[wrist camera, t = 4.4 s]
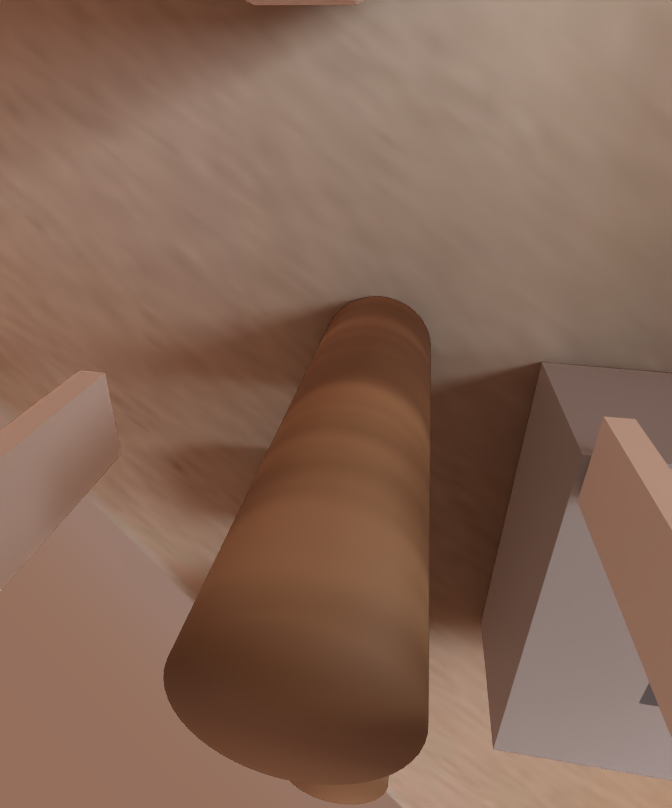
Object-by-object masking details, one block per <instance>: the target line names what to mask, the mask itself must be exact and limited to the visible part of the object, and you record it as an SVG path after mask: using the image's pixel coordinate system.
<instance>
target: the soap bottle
mask: <svg viewBox="0 0 672 808" xmlns="http://www.w3.org/2000/svg"><path fill="white" fill-rule="evenodd" d="M246 1H248V2H249V3H251V4H253V5H357V4H359V3H361V2H363V1H365V0H246Z"/></svg>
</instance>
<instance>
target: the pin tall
mask: <svg viewBox="0 0 672 808" xmlns="http://www.w3.org/2000/svg"><path fill="white" fill-rule="evenodd" d="M430 390H431V343H430V337H429V333H428V330H427V328H426V326H425V324H424V322H423V320H422V319H421V318H420V316H419V315H418V314H417V313H416V312H415V311H414V310H413V309H411V308H410V307H409V306H407V305H406V304H404V303H402V302H400V301H397V300H395V299H392V298H388V297H381V296H372V297H365V298H361V299H358V300H355V301H353V302H351V303H349V304H347V305H346V306H344V307H343V308H342V309H341V310H340V311H339V312H338V313H337V314H336V315H335V316H334V317H333V319H332V320H331V322H330V324H329V326H328V328H327V330H326V332H325V334H324V336H323V338H322V340H321V342H320V344H319V347H318V349H317V351H316V353H315V355H314V357H313V359H312V361H311V363H310V365H309V367H308V369H307V371H306V373H305V375H304V377H303V380H302V382H301V384H300V386H299V388H298V390H297V392H296V394H295V396H294V398H293V400H292V402H291V404H290V406H289V408H288V411H287V413H286V415H285V417H284V419H283V421H282V423H281V425H280V427H279V429H278V431H277V433H276V435H275V437H274V439H273V441H272V444H271V446H270V448H269V450H268V452H267V454H266V456H265V458H264V460H263V462H262V464H261V466H260V468H259V470H258V472H257V474H256V477H255V479H254V481H253V483H252V485H251V487H250V489H249V491H248V493H247V495H246V497H245V499H244V501H243V503H242V505H241V507H240V510H239V512H238V514H237V516H236V518H235V520H234V522H233V524H232V526H231V528H230V530H229V532H228V534H227V536H226V538H225V541H224V543H223V545H222V547H221V549H220V551H219V553H218V555H217V557H216V559H215V561H214V563H213V565H212V567H211V569H210V571H209V574H208V576H207V578H206V580H205V582H204V584H203V586H202V588H201V590H200V592H199V594H198V596H197V598H196V600H195V602H194V604H193V607H192V609H191V611H190V613H189V615H188V617H187V619H186V621H185V623H184V625H183V627H182V629H181V631H180V633H179V636H178V638H177V640H176V642H175V644H174V646H173V648H172V650H171V652H170V654H169V656H168V658H167V662H166V664H165V668H164V687H165V691H166V694H167V697H168V700H169V702H170V704H171V706H172V708H173V710H174V711H175V712H176V714H177V716H178V717H179V718H180V720H181V721H182V722H183V723H184V724H185V725H186V727H187V728H188V729H189V730H190V731H191V732H192V733H193V734H195V735H196V736H197V737H198V738H199V739H200V740H202V741H203V742H204V743H206V744H207V745H208V746H209V747H211V748H212V749H214V750H215V751H217V752H219V753H220V754H222V755H223V756H225V757H227V758H229V759H231V760H233V761H235V762H237V763H239V764H241V765H243V766H245V767H248V768H250V769H253V770H255V771H258V772H261V773H264V774H267V775H270V776H274V777H277V778H281V779H285V780H290V781H294V782H301V783H307V784H317V785H350V784H358V783H365V782H370V781H373V780H377V779H381V778H383V777H386V776H388V775H391V774H393V773H395V772H397V771H399V770H400V769H402V768H404V767H405V766H406V765H408V764H409V763H410V762H411V761H413V759H414V758H415V757H416V756H417V755H418V754H419V753H420V751H421V749H422V747H423V746H424V744H425V741H426V737H427V734H428V700H429V545H430Z"/></svg>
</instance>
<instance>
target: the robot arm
mask: <svg viewBox="0 0 672 808" xmlns="http://www.w3.org/2000/svg"><path fill="white" fill-rule="evenodd" d="M121 454H122V453H121V448H120V443H119V438H118V433H117V428H116V424H115V419H114V414H113V409H112V404H111V399H110V394H109V390H108V385H107V380H106V375H105V372H94V371H83V370H79V371H78V372H77V373H75V374H74V375H73V376H71V377H70V378H69V379H67V380H66V381H65V382H63V383H62V384H61V385H59V386H58V387H57V388H55V389H54V390H53V391H51V392H50V393H49V394H47V395H46V396H45V397H43V398H42V399H41V400H39V401H38V402H37V403H35V404H34V405H33V406H31V407H30V408H29V409H28V410H26V411H25V412H24V413H22V414H21V415H20V416H18V417H17V418H16V419H14V420H13V421H12V422H10V423H9V424H8V425H7V426H5V427H4V428H2V429H1V430H0V591H1V590H2V589H3V588H4V587H5V586H6V585H7V583H8V582H9V581H10V580H11V579H12V578H13V577H14V575H15V574H16V573H17V572H18V571H19V570H20V569H21V568H22V566H23V565H24V564H25V563H26V562H27V561H28V560H29V558H30V557H31V556H32V555H33V554H34V553H35V551H36V550H37V549H38V548H39V547H40V546H41V545H42V543H43V542H44V541H45V540H46V539H47V538H48V537H49V536H50V535H51V533H52V532H53V531H54V530H55V529H56V528H57V527H58V525H59V524H60V523H61V522H62V521H63V520H64V519H65V517H66V516H67V515H68V514H69V513H70V512H71V510H72V509H73V508H74V507H75V506H76V505H77V504H78V503H79V501H80V500H81V499H82V498H83V497H84V496H85V495H86V494H87V492H88V491H89V490H90V489H91V488H92V487H93V486H94V484H95V483H96V482H97V481H98V480H99V479H100V478H101V476H102V475H103V474H104V473H105V472H106V471H107V470H108V468H109V467H110V466H111V465H112V464H113V463H114V462H115V461H116V459H117V458H118V457H119V456H120V455H121ZM577 502H578V505H579V507H580V510H581V512H582V515H583V517H584V520H585V522H586V525H587V527H588V530H589V532H590V535H591V537H592V540H593V542H594V545H595V547H596V550H597V552H598V555H599V557H600V560H601V562H602V565H603V567H604V570H605V572H606V575H607V577H608V580H609V582H610V585H611V587H612V590H613V592H614V595H615V598H616V600H617V603H618V605H619V608H620V610H621V613H622V615H623V618H624V620H625V623H626V625H627V628H628V630H629V633H630V635H631V638H632V640H633V643H634V645H635V648H636V650H637V653H638V655H639V658H640V660H641V663H642V665H643V668H644V670H645V673H646V675H647V678H648V680H649V683H650V685H651V688H652V690H653V693H654V695H655V698H656V700H657V703H658V705H659V708H660V710H661V713H662V715H663V718H664V720H665V723H666V725H667V728H668V730H669V733H670V735H671V738H672V471H671V469H670V468H669V466H668V465H667V464H666V462H665V461H664V459H663V458H662V456H661V455H660V454H659V452H658V451H657V449H656V448H655V446H654V445H653V444H652V442H651V441H650V439H649V438H648V436H647V435H646V433H645V432H644V431H643V429H642V428H641V426H640V425H639V423H638V422H637V421H636V419H628V418H616V417H605V416H604V418H603V421H602V424H601V427H600V430H599V434H598V437H597V440H596V443H595V446H594V450H593V453H592V456H591V459H590V462H589V466H588V469H587V472H586V475H585V478H584V482H583V485H582V488H581V491H580V494H579V498H578V501H577Z"/></svg>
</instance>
